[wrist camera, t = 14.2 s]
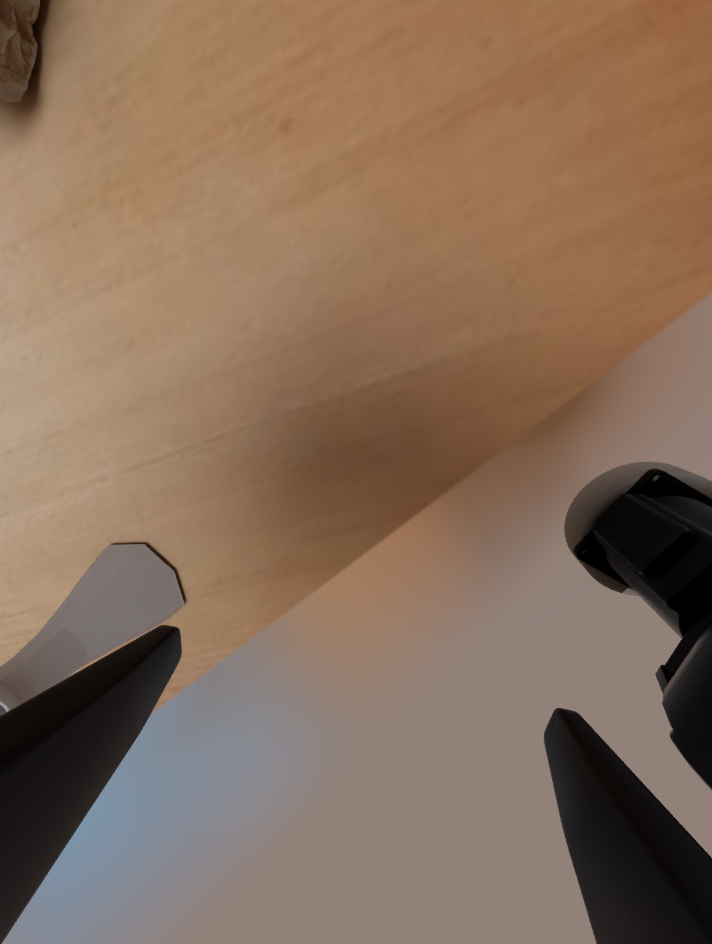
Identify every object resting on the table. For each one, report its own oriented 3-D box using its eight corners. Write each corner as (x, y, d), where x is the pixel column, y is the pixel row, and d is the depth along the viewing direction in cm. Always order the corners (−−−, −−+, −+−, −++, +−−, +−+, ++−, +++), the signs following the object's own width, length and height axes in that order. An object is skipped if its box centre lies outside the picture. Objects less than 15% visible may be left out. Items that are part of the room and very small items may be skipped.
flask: (133, 629, 27) (-11, 772, 18) (78, 557, 25) (-112, 672, 16) (202, 607, 25) (82, 753, 16) (148, 527, 24) (-20, 638, 14)
